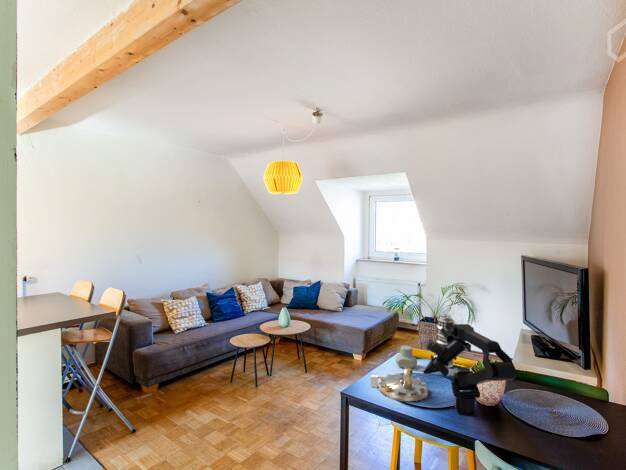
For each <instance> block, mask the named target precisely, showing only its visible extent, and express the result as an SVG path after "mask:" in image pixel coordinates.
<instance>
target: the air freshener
mask: <svg viewBox="0 0 626 470" xmlns="http://www.w3.org/2000/svg"><path fill="white" fill-rule="evenodd" d="M394 359H395V363H396V365H398V366H399V367H401V368H402V369H404V368H411V369H412V368H415V367H416V366H417V365H418V360H417V358H416V356H415V355H413V347H411V346H410V345H401V346H400V352H399V354H397V355H396V356H395V358H394Z"/></svg>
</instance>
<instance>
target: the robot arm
mask: <svg viewBox="0 0 626 470" xmlns="http://www.w3.org/2000/svg"><path fill="white" fill-rule="evenodd" d="M441 333H442V335H443V336H444V338H445V339H446V341H447V342H448V344H447V345H446V344H444V345H442V346H441V345H439V344H438V342H437V341H434V340H432V339H430V338H429V339H428V341H427V342H426V344H425V347H426V350H428V351H430V352H431V353H434V354H433V355H432V354H430V361H429V363H428V364H427V366H426V367H425V368H424V369H425V370H424V371H423V372H422V374H424V375H428V374H435V373H434V372H441V373H442V374H441V373H440V374H441V375H442V376H443V377H446V376H448V374H449V370H448V369H449V367H447V366H448V365H449V362H451V361H452V360H453V361H456V360H457V359H458V358H457V357H458V356H460V355H461V354H462V353H464V352H465V351H466V350H467V351H468V352H469V353H471V350H472V345H473V346H474V347H475V348H478V349H479V350H481V351H482V354H483V355H482V356H483V357H482V365H483V367H484V368H483V369H480V370H477V371H474V370H463V371H462V370H461V371H460V370H459V372H457V373H454V375H453V376H452V375H451V381H450V384H451V389H452V390H451V391H452V394H453V397H454V408H455V410H456V412H457V414H458V415H463V416H471V417H476V416H477V414H476V399H478V398H479V399H480V397H481V392H480V390H479V387H478V385H481V384H484V383H489V382H494V381H497V382H498V381H499V382H500V381H514V380H515V379H516V375H517V369H516V367H515V364H514V362H513V361H512V359H511V357H510V356H509V355H508V354H507V352H505V351H504V350H503V349H502V348H501V345H500V344H499V342H497V341H495V340H492V339H490V338H488V337H486V336H484V335H482V334H481V333H479V332H476V331H475V328H474V327H473V326H472V325H470V324H469V323H464V324H462V323H455V324H454V323H453V325H452V323H447V325H445V326H444V327H442V329H441ZM490 354H495V356H496V357H498V358H499V359H500V360H501V361H490Z"/></svg>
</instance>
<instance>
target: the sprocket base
mask: <svg viewBox="0 0 626 470" xmlns="http://www.w3.org/2000/svg"><path fill="white" fill-rule="evenodd" d="M378 390H379V392H380V393H381V394H382V395H383V396H384V397H387V398H388V399H392V400H394V401H397V402H398V401H399V402H403V401H417V402H419V401H418V400H421V399H424V398H425V397H426V396H427V395H429V389H428V387H427V386H426V392H421V395H420V396H417V395H416V394H413V395H411V397H407V396H406V395H404V394H399V395H394V392H392V391H385V386H381V385H380V381H378ZM427 397H428V396H427ZM427 397H426V398H427ZM426 398H425V399H426ZM425 399H424V400H425ZM421 401H422V400H421Z"/></svg>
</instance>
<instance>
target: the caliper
mask: <svg viewBox="0 0 626 470" xmlns="http://www.w3.org/2000/svg"><path fill="white" fill-rule="evenodd" d="M424 370H425V368H418V369H417V370H416V372H419V373H423V371H424ZM448 370H449V374H448V375H447V376H448V377H449V376H451V377H452V376H453V375H454V373H457V372H459V371H460V369H458V367H453V369H451V368H448ZM433 374H441V375H443V374H442V373H441V372H434V373H433Z"/></svg>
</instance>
